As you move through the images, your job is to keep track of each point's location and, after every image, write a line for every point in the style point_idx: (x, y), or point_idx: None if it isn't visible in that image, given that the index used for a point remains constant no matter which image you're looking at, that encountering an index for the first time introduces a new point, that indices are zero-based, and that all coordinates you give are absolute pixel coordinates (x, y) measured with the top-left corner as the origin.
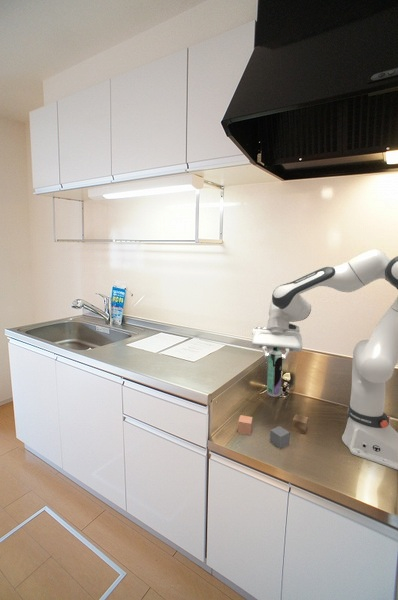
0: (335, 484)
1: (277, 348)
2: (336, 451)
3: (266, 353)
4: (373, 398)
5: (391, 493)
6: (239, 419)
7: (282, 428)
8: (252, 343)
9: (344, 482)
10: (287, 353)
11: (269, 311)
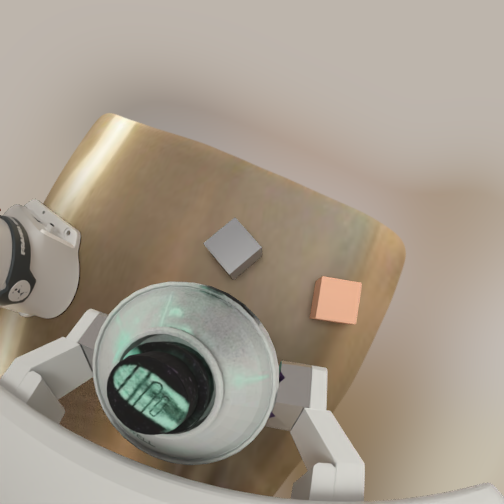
0: (153, 141)
1: (125, 364)
2: (106, 238)
3: (305, 393)
4: None
5: (79, 145)
6: (358, 295)
7: (221, 261)
8: (494, 487)
9: (135, 149)
10: (46, 351)
11: None
